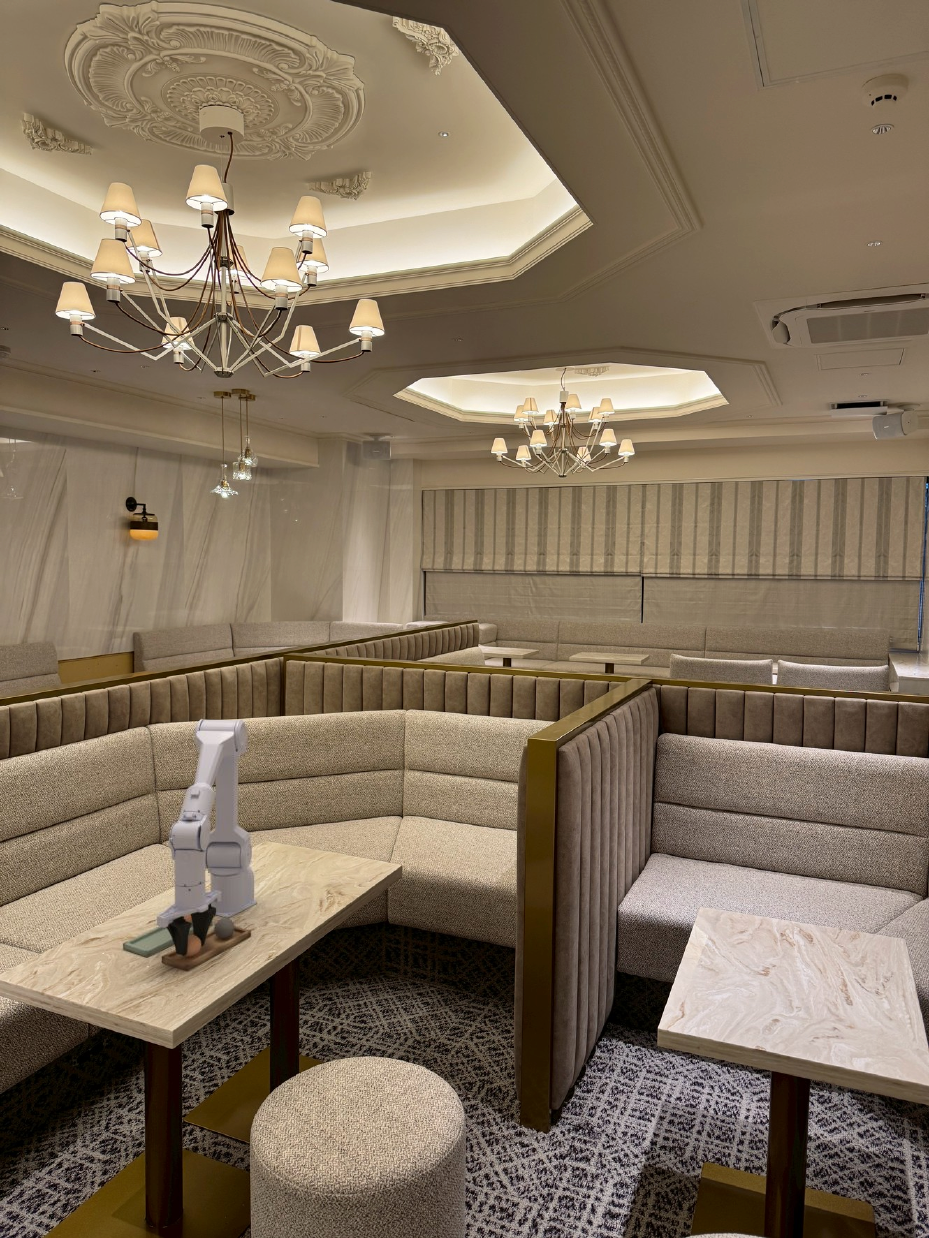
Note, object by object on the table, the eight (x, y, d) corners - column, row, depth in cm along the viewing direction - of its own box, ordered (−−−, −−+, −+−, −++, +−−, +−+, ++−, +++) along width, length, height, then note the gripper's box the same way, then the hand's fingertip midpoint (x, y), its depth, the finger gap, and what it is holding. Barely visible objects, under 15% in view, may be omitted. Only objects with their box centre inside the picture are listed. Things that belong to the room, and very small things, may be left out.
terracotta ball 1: (186, 920, 174) (186, 902, 174) (200, 924, 172) (199, 906, 172) (171, 927, 171) (171, 908, 171) (185, 931, 169) (185, 912, 169)
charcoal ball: (224, 931, 169) (224, 913, 169) (238, 936, 167) (238, 917, 167) (209, 939, 166) (209, 920, 165) (224, 943, 164) (224, 924, 163)
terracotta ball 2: (191, 949, 161) (190, 929, 161) (205, 953, 159) (205, 934, 159) (175, 957, 158) (175, 937, 157) (190, 962, 156) (189, 942, 156)
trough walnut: (226, 928, 172) (226, 923, 172) (250, 936, 168) (250, 930, 168) (161, 962, 157) (161, 956, 157) (187, 971, 153) (187, 965, 153)
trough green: (188, 917, 177) (188, 912, 177) (212, 924, 173) (212, 919, 173) (123, 949, 162) (122, 943, 162) (147, 957, 159) (147, 951, 158)
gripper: (175, 898, 149) (175, 969, 150) (232, 873, 162) (232, 939, 163) (148, 890, 153) (149, 960, 153) (206, 866, 165) (207, 931, 166)
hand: (190, 949), depth 158 cm, fingers closed on terracotta ball 2, 4 cm apart
